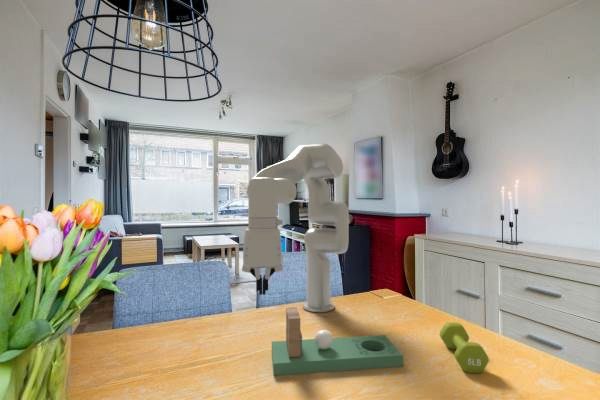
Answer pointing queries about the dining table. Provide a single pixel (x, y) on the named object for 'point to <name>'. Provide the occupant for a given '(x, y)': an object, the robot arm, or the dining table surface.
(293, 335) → the upright wooden plank
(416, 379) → the dining table surface
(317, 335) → the ball
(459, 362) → the dumbbell
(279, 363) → the putting mat
